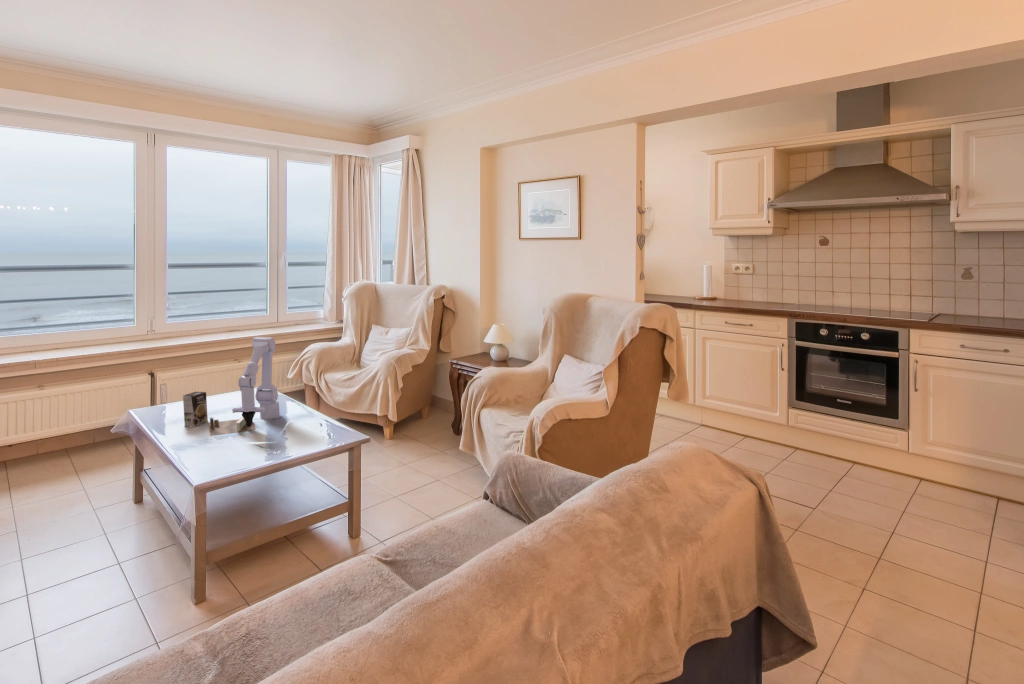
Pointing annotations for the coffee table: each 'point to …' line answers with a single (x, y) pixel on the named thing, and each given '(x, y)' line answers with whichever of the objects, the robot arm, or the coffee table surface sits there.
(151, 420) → the coffee table surface
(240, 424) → the gate
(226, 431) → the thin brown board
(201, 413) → the coffee box
